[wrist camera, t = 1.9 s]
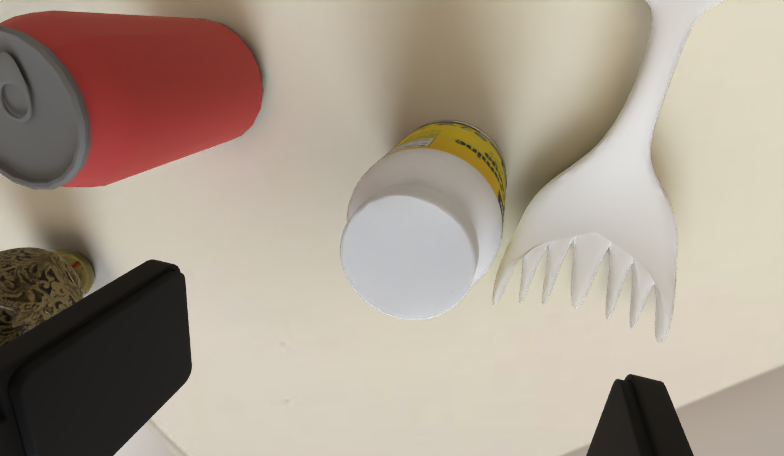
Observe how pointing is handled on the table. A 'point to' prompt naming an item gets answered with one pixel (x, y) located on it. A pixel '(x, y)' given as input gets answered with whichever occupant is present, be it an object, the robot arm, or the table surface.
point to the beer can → (117, 94)
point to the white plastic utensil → (614, 194)
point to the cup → (39, 287)
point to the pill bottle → (425, 221)
